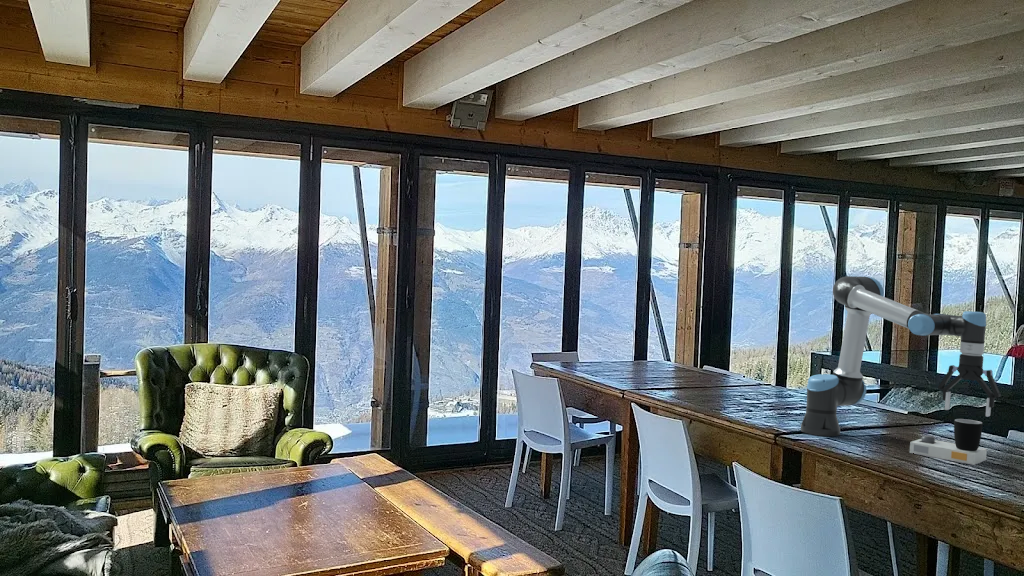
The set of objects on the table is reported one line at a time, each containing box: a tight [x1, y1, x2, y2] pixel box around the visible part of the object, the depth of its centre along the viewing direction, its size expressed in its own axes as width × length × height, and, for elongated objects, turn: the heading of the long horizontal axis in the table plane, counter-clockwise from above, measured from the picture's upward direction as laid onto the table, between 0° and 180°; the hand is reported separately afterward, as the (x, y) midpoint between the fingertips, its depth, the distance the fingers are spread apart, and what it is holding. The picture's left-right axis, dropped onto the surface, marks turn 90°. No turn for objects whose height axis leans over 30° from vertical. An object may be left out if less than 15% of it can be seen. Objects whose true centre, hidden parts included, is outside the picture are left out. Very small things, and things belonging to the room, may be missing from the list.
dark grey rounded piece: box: [921, 434, 936, 444], centre depth 315 cm, size 4×4×3 cm
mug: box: [953, 418, 983, 451], centre depth 306 cm, size 12×9×10 cm
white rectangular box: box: [909, 438, 988, 466], centre depth 310 cm, size 22×13×4 cm, turn 44°
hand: (967, 412), depth 305 cm, fingers open, 13 cm apart
